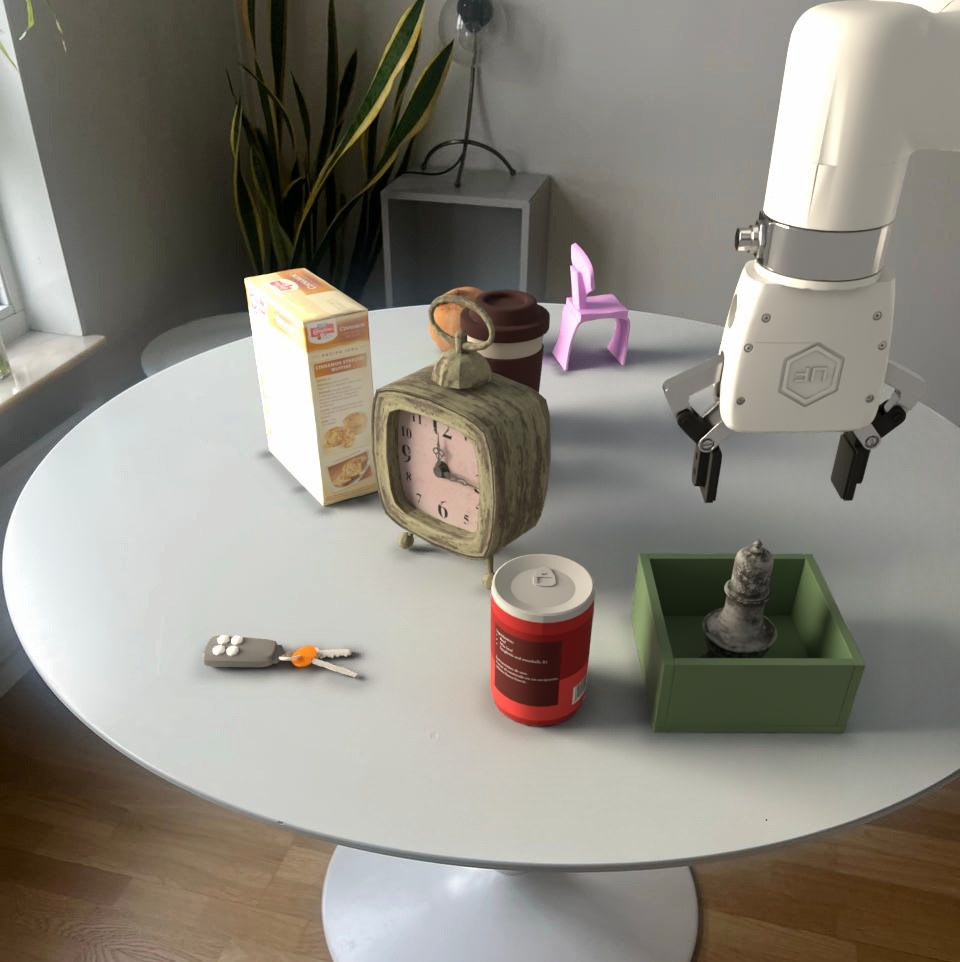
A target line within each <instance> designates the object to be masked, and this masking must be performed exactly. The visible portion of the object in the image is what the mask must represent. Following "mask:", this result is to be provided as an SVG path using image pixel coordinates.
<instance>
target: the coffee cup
mask: <svg viewBox="0 0 960 962" xmlns="http://www.w3.org/2000/svg"><path fill="white" fill-rule="evenodd" d="M474 302H476V303H478V304H479V305H480V306H481V307H482V308H483V309H484V310H485V311H486V312H487V313H488V315H489V316H490V318H491V319H492V322H493V325H494V329H495V337H494V340H493V342H492V344H491V345H490V346H489V347H488V348H486V349H485V350H480V351H477V352H478V353H480V354H481V355H482V356H483V357H484V358H486V360H487V362H488V363H489V365H490V368H491V371H492V373H495V374H498V375H501V376H503V377H506V378H508V379H511V380H513V381H516V382H518V383H521V384H523V385H526V386H528V387H530V388H532V389H534V390H535V391H537V392H538V393H539V394H540V388H541V380H542V370H543V360H544V352H545V345H544V342H543V341H544V336H545V335H546V334H547V333H548V331H549V330H550V323H551V322H550V321H551V314H550V312H549V310H548V309H547V308H545V307H544V306H543V305H541V304H538V301H537V299H536V297H534V295H532V294H531V293H528V292H525V291H522V290H517V289H493V290H488V291H484V293H481V294H480V295H478V296H477V297H476V298H475V299H474ZM460 327H461V330H464V331H466V332H467V341H469V342H472V343H483V342H485V341H487V340H488V338H489V329H488V327H487V325H486V323H485V321H484V320H483V319H482V318H481V316H480V315H479V314H477V313H476V312H475V311H474V310H472V309H469V308H467V307H465V308H464V309H463V310H462V311H461V314H460Z"/></svg>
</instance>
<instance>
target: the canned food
mask: <svg viewBox="0 0 960 962" xmlns="http://www.w3.org/2000/svg"><path fill="white" fill-rule="evenodd" d="M494 573H495V574H494V576H493V580H492V587H491V590H490V676H489V677H490V681H489V682H490V693H491V695H492V698H493V701H494V703H495V705H496V707H497V709H498V710H499V711H500V712H501V713H502V714H503V715H504V716H505V717H507V718H509V719H510V720H512V721H514V722H516V723H519V724H522V725H527V726H533V727H548V726H554V725H558V724H560V723H562V722H563V723H564V721H567V720H568V719H570V718H571V717H573V715H575V714H576V713H577V712H578V710H579V709H580V707H581V706H582V703H583V701H584V699H585V696H586V690H587V681H588V670H589V661H590V652H591V651H590V650H591V642H592V641H591V639H592V631H593V621H594V609H595V597H596V588H595V587H596V586H595V585H596V584H595V579H594V577H593V576H592V574H591V572H590V571H589V570H588V569H587V568H586V567H585V566H583V565H582V564H581V563H579V562H577V561H575V560H573V559H571V558H568V557H565V556H562V555H558V554H557V555H556V554H551V553H531V554H525V555H520V556H518V557H515V558H512V559H510V560H508V561H506V562H505V563H503V564H501V566H500V567H499V568H497V570H496V571H495V572H494Z"/></svg>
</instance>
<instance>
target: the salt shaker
mask: <svg viewBox="0 0 960 962" xmlns="http://www.w3.org/2000/svg"><path fill="white" fill-rule="evenodd" d="M762 546H763V542H762V541H761V539H760V538H759V539H757V540H755V541H753V543H752V545H748V546H745V547H742V548H741V549H740V550H739V551H737V555H736V557H735V562H734V567H733V572H732V577H731V579H730V580H729V581H728V582H726V584H725V586H724V590H725V593H726V594H727V597H726V602H725V607H724V608H720V609H716V610H714V611H712V612H710V613H709V614H708V615H707V616H706V617H705V618H704V620H703V622H702V629H703V632H704V634H705V640H706V643H707V647H706V648H705V649H704V650H703V651H702V653H701V655H700V658H762V657H763V656H764V655H765V654H766V653H767V651H768V650H769V649H770V647H771V646H772V645H773V644H774V643H775V642H776V639H777V630H776V628H775V626H774V624H773V623H772V622H771V621H770V620H769V619H768V618H767V617H765V616H764V615H763V611H764V607H765V603H766V601H768V600H769V599H770V597H771V595H772V590H771V589H770V587H769V586H768V585H769V581H770V576H771V572H772V568H773V556H772V555H771V554H772V553H771V552H770V551H769V550H768V549H766V548H765V547H762Z"/></svg>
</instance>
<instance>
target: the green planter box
mask: <svg viewBox="0 0 960 962" xmlns="http://www.w3.org/2000/svg"><path fill="white" fill-rule="evenodd" d="M737 553H738V552H737ZM737 553H734V552H733V553H731V552H730V553H727V552H726V553H724V552H723V553H721V552H719V553H717V552H715V553H710V552H709V553H707V552H706V553H703V552H702V553H700V552H699V553H698V552H697V553H694V552H693V553H691V552H690V553H688V552H687V553H685V552H683V553H681V552H680V553H678V552H677V553H676V552H675V553H673V552H672V553H671V552H670V553H669V552H668V553H666V552H665V553H664V552H663V553H661V552H660V553H659V552H658V553H657V552H654V553H653V552H652V553H651V552H649V553H647V552H639V553H638V555H637V565H636V572H635V573H636V574H635V582H634V590H633V599H632V605H631V615H630V619H631V625H632V629H633V635H634V640H635V645H636V649H637V654H638V659H639V664H640V665H639V666H640V670H641V675H642V680H643V685H644V690H645V696H646V701H647V705H648V711H649V715H650V720H651V721H650V722H651V726H652V731H653V733H711V734H712V733H713V734H715V733H719V734H720V733H728V734H729V733H734V734H735V733H737V734H738V733H740V734H741V733H743V734H745V733H746V734H747V733H749V734H750V733H751V734H752V733H755V734H756V733H758V734H759V733H760V734H761V733H763V734H765V733H767V734H770V733H773V734H777V733H779V734H780V733H781V734H787V733H789V734H790V733H791V734H797V733H799V734H845V731H846V728H847V725H848V721H849V718H850V716H851V712H852V709H853V706H854V702H855V700H856V697H857V694H858V690H859V687H860V685H861V682H862V678H863V675H864V672H865V669H866V663H865V661H864V659H863V656H862V654H861V652H860V650H859V648H858V646H857V643H856V642H855V640H854V638H853V636H852V634H851V631H850V630H849V627H848V625H847V622H846V621H845V619H844V617H843V615H842V613H841V611H840V609H839V607H838V604H837V603H836V600H835V598H834V596H833V594H832V591H831V589H830V587H829V586H828V584H827V582H826V579H825V578H824V575H823V573H822V572H821V569H820V567H819V565H818V563H817V561H816V558H815V556H814V554H813V553H771V555H772V556H773V568H772V572H771V576H770V581H769V585H768V586H769V587H770V589H771V590H772V595H771V597H770V599H769V600H768V601H766V603H765V607H764V611H763V615H764V616H765V617H767V618H768V619H769V620H770V621H771V622H772V623H773V624H774V626H775V628H776V630H777V639H776V642H775V643H774V644H773V645H772V646H771V647H770V649H769V650H768V651H767V653H766V654H765V655H764V656H763V657H762V658H700V655H701V653H702V651H703V650H704V649H705V648H706V647H707V643H706V640H705V634H704V632H703V629H702V622H703V620H704V618H705V617H706V616H707V615H708V614H709V613H710V612H712V611H714V610H716V609H720V608H724V607H725V602H726V597H727V594H726V593H725V590H724V586H725V584H726V582H728V581H729V580H730V579H731V577H732V572H733V567H734V562H735V557H736V555H737Z"/></svg>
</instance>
